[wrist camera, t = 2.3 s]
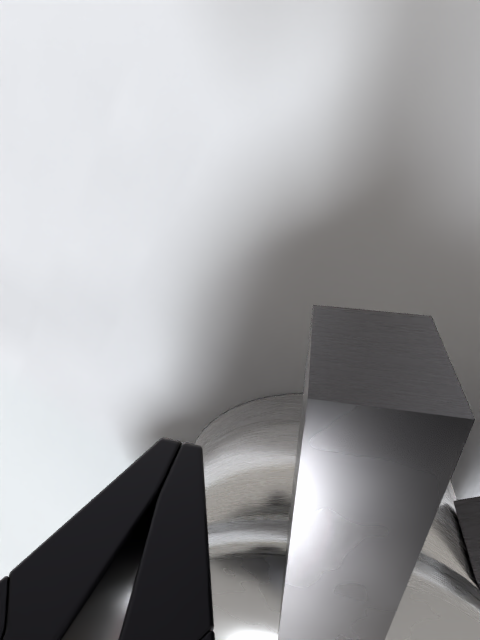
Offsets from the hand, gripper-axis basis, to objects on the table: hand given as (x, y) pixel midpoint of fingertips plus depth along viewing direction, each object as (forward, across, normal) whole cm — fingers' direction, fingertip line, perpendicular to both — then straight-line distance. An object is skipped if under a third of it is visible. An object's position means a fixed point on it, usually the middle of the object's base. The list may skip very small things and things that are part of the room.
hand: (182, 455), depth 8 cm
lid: (+1, -4, +5) cm, 7 cm away
